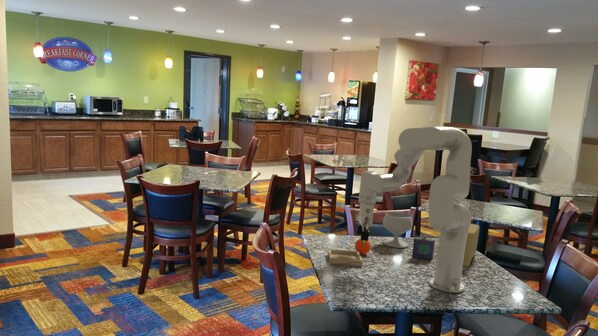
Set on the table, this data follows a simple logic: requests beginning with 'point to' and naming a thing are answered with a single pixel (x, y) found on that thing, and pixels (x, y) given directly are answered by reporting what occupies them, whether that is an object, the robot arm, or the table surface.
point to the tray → (345, 258)
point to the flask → (423, 248)
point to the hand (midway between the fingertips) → (362, 237)
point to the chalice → (397, 227)
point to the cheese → (471, 244)
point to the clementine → (362, 246)
